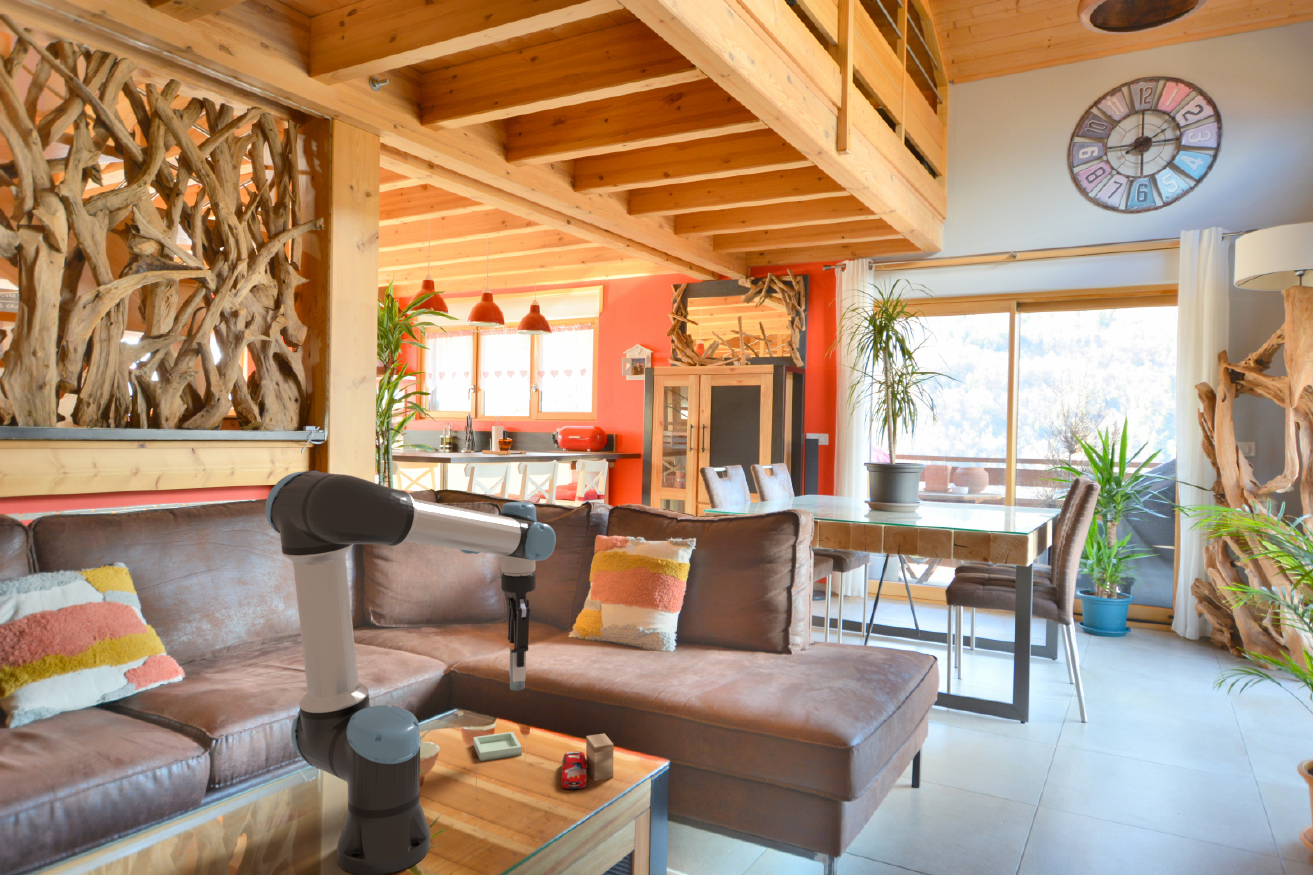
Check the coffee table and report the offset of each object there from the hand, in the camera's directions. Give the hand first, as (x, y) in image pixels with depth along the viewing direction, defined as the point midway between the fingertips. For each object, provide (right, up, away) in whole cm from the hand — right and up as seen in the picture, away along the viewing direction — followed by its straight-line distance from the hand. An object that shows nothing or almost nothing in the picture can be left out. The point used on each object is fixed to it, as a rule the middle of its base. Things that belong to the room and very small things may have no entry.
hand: (517, 677), depth 183 cm
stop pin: (0, -2, 0) cm, 2 cm away
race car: (+14, -17, -12) cm, 25 cm away
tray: (-5, -16, 0) cm, 17 cm away
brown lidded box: (+19, -17, -11) cm, 28 cm away
